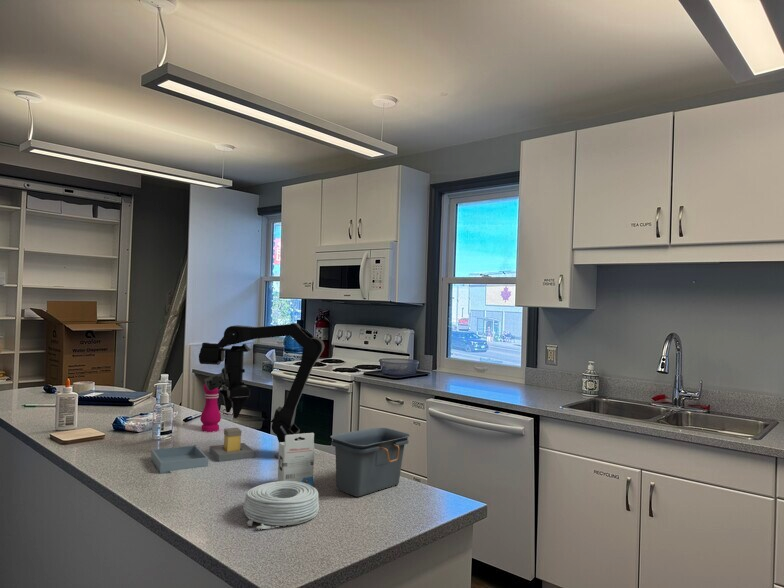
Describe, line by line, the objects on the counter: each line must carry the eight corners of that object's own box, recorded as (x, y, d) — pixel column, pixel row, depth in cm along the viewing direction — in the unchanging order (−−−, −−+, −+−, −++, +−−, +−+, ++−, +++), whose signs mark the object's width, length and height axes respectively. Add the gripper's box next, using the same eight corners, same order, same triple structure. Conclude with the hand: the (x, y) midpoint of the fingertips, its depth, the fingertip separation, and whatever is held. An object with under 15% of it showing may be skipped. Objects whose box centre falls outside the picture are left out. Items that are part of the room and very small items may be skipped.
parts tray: (207, 467, 163) (208, 457, 163) (160, 473, 156) (160, 462, 156) (195, 454, 176) (195, 445, 176) (150, 459, 169) (151, 449, 169)
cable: (249, 534, 120) (250, 506, 120) (237, 505, 136) (238, 480, 136) (327, 524, 127) (328, 498, 127) (307, 498, 143) (308, 474, 143)
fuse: (240, 456, 175) (241, 430, 175) (226, 457, 173) (228, 431, 173) (236, 452, 178) (237, 427, 179) (223, 454, 176) (224, 428, 176)
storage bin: (378, 473, 165) (380, 425, 165) (418, 487, 154) (420, 435, 155) (322, 489, 149) (325, 435, 149) (363, 506, 139) (366, 448, 139)
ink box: (307, 482, 155) (309, 428, 155) (313, 487, 150) (315, 432, 151) (276, 485, 151) (279, 430, 151) (281, 491, 146) (284, 434, 147)
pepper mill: (224, 430, 209) (226, 376, 210) (208, 433, 203) (211, 378, 204) (211, 426, 213) (213, 374, 214) (195, 430, 207) (198, 376, 207)
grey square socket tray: (254, 459, 174) (254, 451, 174) (218, 463, 168) (219, 455, 168) (243, 450, 183) (243, 442, 183) (209, 454, 177) (209, 446, 177)
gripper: (201, 362, 180) (199, 411, 180) (214, 369, 164) (211, 423, 164) (235, 361, 186) (233, 408, 186) (251, 368, 170) (249, 420, 170)
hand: (231, 415), depth 176 cm, fingers open, 9 cm apart
